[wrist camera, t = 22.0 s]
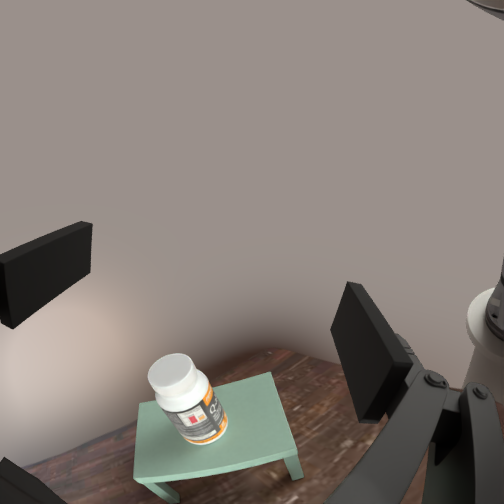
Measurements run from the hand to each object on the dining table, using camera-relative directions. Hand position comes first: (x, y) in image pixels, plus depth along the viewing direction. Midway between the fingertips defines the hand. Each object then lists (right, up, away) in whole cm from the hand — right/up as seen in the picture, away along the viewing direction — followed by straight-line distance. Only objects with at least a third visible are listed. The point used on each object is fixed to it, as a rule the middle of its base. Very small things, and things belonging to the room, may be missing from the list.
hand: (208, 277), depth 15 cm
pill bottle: (-3, -19, +16) cm, 25 cm away
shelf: (-1, -26, +20) cm, 33 cm away
